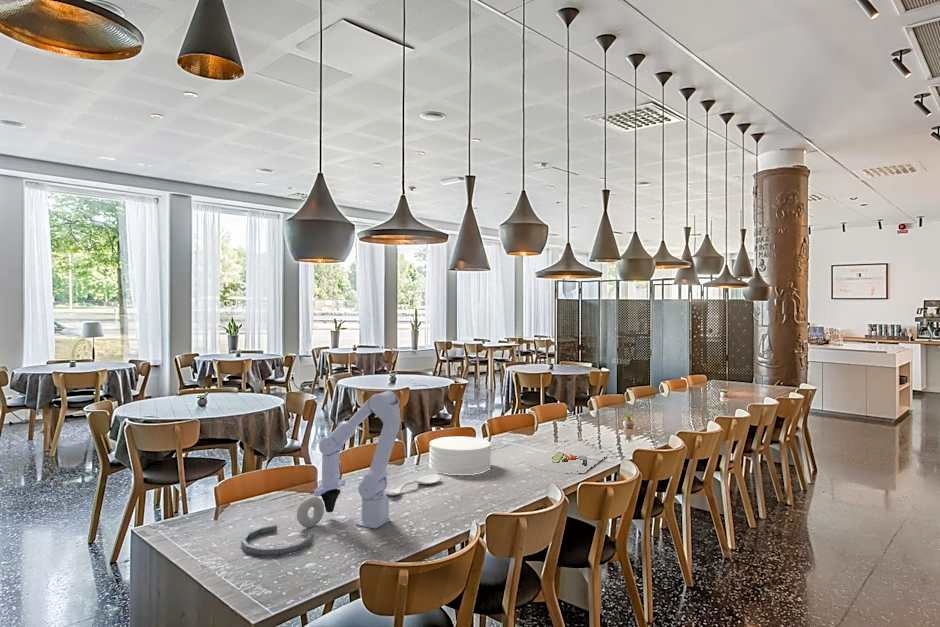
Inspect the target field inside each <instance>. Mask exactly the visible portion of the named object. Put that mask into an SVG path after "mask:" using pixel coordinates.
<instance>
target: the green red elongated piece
mask: <svg viewBox="0 0 940 627" xmlns="http://www.w3.org/2000/svg"><path fill="white" fill-rule="evenodd" d="M564 455H565V454H564V453H561V452H558V453H556V454H555V456H553V457H552V462H553V463H559V462H560V460H561V459H562V458H563V456H564ZM570 456H571V457H569V456H567V455H565V457H566V458H564V459H563V460H562V462H568V460H576V459H580V460H583V463H582V465H584V466H587V457H586V456H583V455H582V456H581V455H580V456H579V457H578V458H576V457H577V456H573V455H571V454H570ZM567 458H568V459H567ZM577 472H578V471H577Z"/></svg>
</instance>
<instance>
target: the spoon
mask: <svg viewBox="0 0 940 627" xmlns="http://www.w3.org/2000/svg"><path fill="white" fill-rule="evenodd" d="M441 477H442V476H440V475H439V474H437V473H436V474H434V473H433V474H426V475H424V476H422V477H419V478H417V479H413V480H408V481H407V482H404V483H402V484H401V485H400V486H399V487H397V488H394V489H393V488H391V489H387V488H386V489H385V490H384V494H385V495H386V496H398V495H400V494H401V493H402V491H403V489H404V488H405V487H406V486H409V485H413V484H416V483H417V484H421V485H427V484H429V485H433V483H434V484H436V483H438V482H440V480H441Z"/></svg>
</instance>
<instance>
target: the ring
mask: <svg viewBox="0 0 940 627" xmlns="http://www.w3.org/2000/svg"><path fill="white" fill-rule="evenodd" d="M277 532H278V525H277V524H273V525H268V526H263V527H258V528H256V529H254V530H251V531H250V532H249V531H248V532H247V533H245V535H244V536H243V537H242V539H241V543H240V544H241V548H242V550H243V549H244V550H243V551H244V553H245V554H248V553H249V554H248V555H251V556H256V557H261V558H262V557H263V556H267V557H282V555H283V556H286V554H287V555H290V554H289V553H292V554H294V553H293V552H296V553H298V552H297V551H299V552H301V551H303V550H305V549H306V547H307V548H308V547H310V546H311V545H312V542H313V540H314V532H309V534H308V535H307V538H305V539H304V540H301V541H299V542H298V543H296V544H290V545H287V546H286V545H285V546H283V547H281V546H280V547H259V546H253V545H250V544H249V542H250V541H251V540H254V539H256V538H258V537H260V536H263V535H264V536H265V535H267V534H274V533H277ZM312 539H313V540H312ZM248 541H249V542H248ZM304 548H305V549H304ZM302 549H303V550H302ZM300 550H301V551H300Z"/></svg>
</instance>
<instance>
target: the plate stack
mask: <svg viewBox="0 0 940 627" xmlns="http://www.w3.org/2000/svg"><path fill="white" fill-rule="evenodd" d="M428 445H429V449H428V450H429V454H428V456H429V459H428V464H429V465H428V468H429V467H430V468H431V469H433V470H435V471H437V472H441V473H448V474H474V473H480V472H483V471H486V470H488V469H489V468H490V467H491V468H492V466H491V464H492V463H491V461H492V460H491V458H492V457H491V456H492V455H491V453H492V448H491V447H492V442H491V441H489V440H487V439H484V438H482V437H481V438H480V437H474V436H462V435H461V436H444V437H438V438H435V439H432V440H430V441H429V444H428Z"/></svg>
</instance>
